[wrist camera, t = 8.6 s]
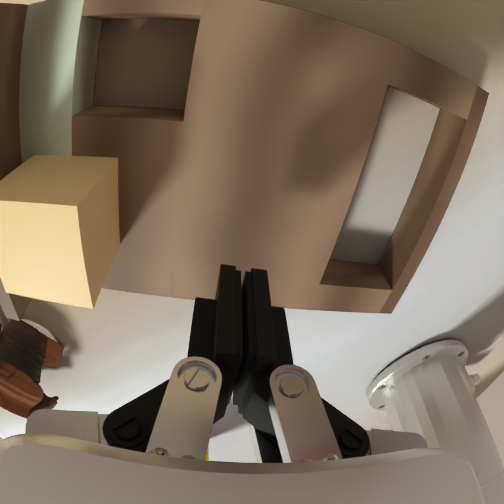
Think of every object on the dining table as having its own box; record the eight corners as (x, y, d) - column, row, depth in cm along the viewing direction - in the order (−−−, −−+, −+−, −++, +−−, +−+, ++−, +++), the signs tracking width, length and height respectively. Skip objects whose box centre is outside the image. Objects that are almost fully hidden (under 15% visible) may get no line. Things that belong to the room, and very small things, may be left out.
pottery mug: (94, 359, 25) (68, 436, 21) (50, 337, 30) (28, 400, 26) (-15, 295, 16) (-49, 393, 12) (-34, 284, 21) (-61, 357, 17)
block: (118, 157, 12) (76, 206, 9) (120, 244, 15) (93, 308, 11) (33, 155, 12) (-22, 199, 8) (44, 235, 14) (5, 292, 10)
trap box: (461, 84, 13) (536, 112, 8) (378, 288, 21) (410, 354, 17) (38, 10, 9) (-38, 9, 4) (45, 252, 18) (6, 317, 13)
